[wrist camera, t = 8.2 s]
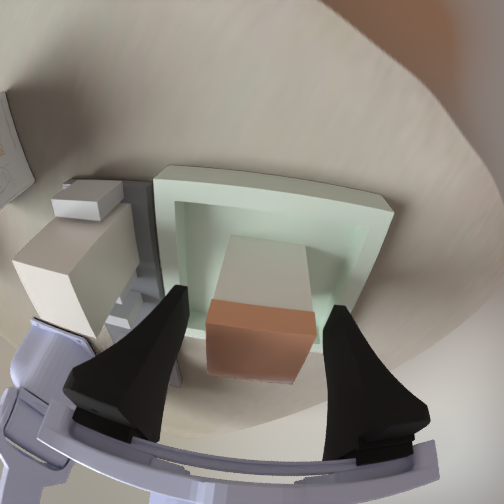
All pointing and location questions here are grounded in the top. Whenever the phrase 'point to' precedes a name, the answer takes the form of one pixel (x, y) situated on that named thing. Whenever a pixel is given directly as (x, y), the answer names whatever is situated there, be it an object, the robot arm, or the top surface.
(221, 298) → the block
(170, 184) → the tray
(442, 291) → the top surface
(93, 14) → the top surface
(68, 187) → the fuse holder
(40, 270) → the block
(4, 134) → the small box
